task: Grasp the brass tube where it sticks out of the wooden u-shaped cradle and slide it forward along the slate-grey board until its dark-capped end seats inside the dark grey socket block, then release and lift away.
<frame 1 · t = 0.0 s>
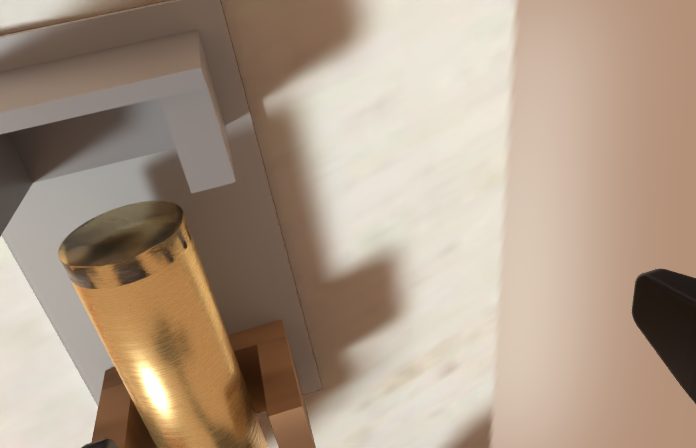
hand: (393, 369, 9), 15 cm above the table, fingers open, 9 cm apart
board: (163, 255, 23), on the table
wooden u-shaped cradle: (207, 367, 27), resting on board
socket: (101, 100, 20), resting on board
tube: (192, 392, 22), point 4 cm above the table, slide at 0.0 cm
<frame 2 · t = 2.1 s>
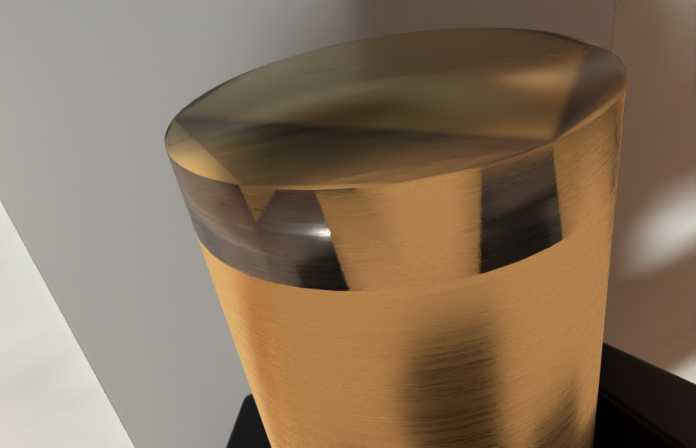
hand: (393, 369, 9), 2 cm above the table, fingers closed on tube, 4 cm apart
board: (341, 214, 10), on the table
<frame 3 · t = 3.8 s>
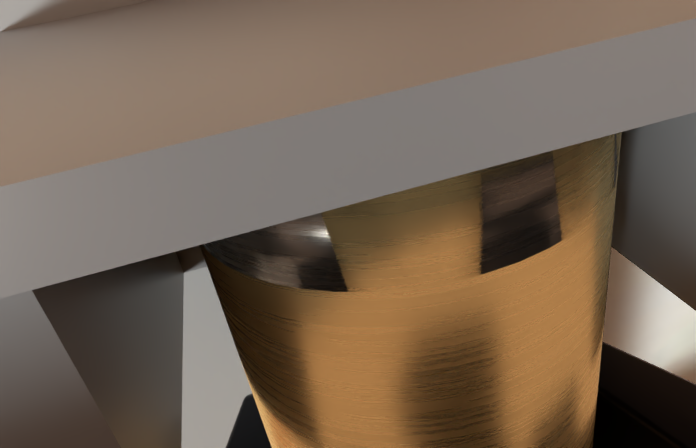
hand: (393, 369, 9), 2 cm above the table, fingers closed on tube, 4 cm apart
board: (373, 376, 12), on the table
socket: (315, 82, 9), resting on board
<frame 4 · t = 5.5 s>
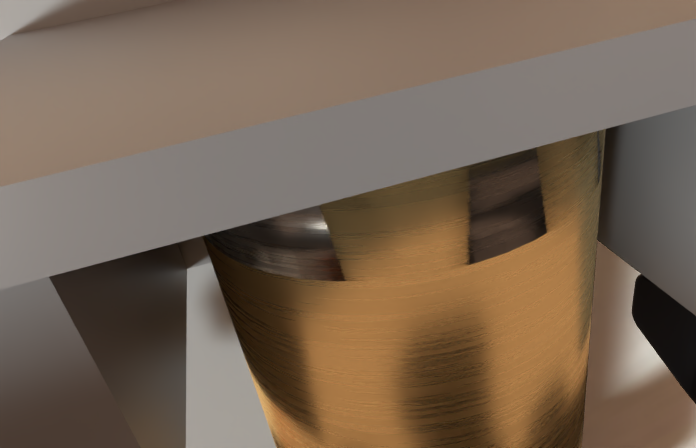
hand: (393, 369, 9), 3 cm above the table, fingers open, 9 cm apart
board: (371, 372, 13), on the table
socket: (315, 84, 9), resting on board
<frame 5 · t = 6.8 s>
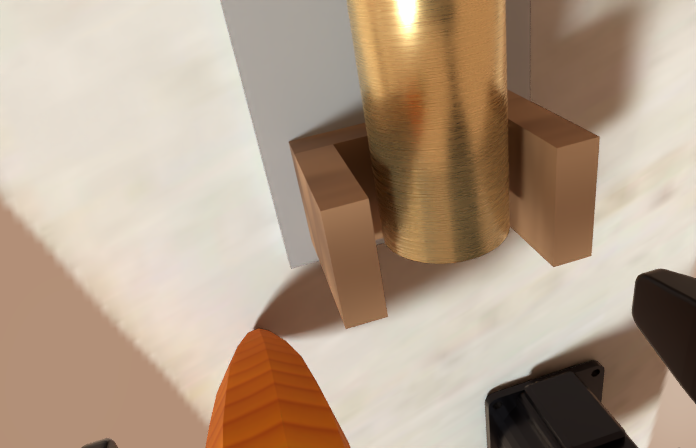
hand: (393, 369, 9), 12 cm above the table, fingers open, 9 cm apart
wooden u-shaped cradle: (400, 159, 21), resting on board
carrot: (256, 329, 23), on the table
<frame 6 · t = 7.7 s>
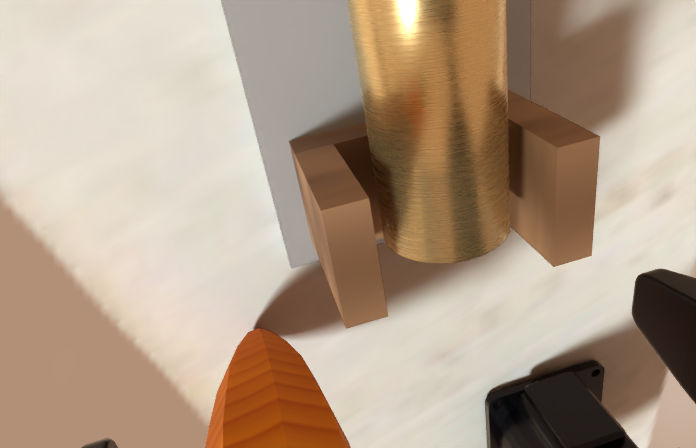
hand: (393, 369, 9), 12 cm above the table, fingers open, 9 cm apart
wooden u-shaped cradle: (400, 159, 21), resting on board
carrot: (257, 329, 23), on the table
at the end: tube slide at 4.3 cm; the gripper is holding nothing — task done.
